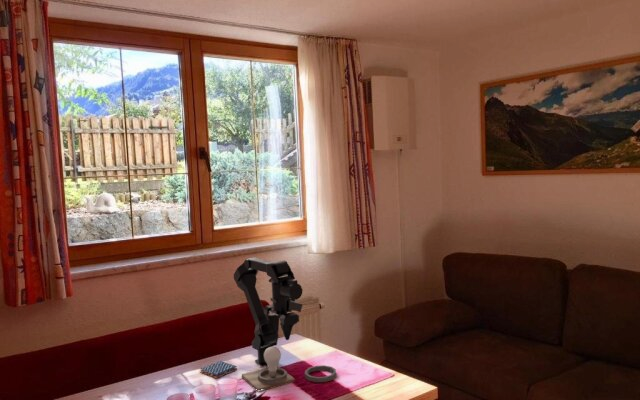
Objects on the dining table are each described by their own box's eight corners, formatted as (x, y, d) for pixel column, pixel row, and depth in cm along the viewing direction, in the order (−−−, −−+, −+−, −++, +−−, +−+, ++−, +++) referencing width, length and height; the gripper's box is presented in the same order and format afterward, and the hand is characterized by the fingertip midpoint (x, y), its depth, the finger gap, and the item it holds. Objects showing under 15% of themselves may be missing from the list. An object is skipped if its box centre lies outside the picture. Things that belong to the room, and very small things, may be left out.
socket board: (241, 377, 181) (241, 370, 181) (276, 368, 188) (276, 361, 188) (258, 391, 168) (257, 384, 168) (294, 381, 175) (294, 374, 175)
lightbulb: (284, 377, 177) (284, 347, 176) (270, 382, 173) (269, 350, 173) (275, 373, 181) (274, 343, 181) (260, 377, 178) (260, 346, 177)
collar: (299, 374, 182) (299, 370, 181) (325, 367, 187) (325, 363, 187) (314, 384, 172) (314, 380, 172) (341, 377, 178) (341, 372, 177)
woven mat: (221, 364, 196) (220, 359, 196) (238, 370, 189) (238, 365, 189) (198, 373, 188) (198, 368, 188) (216, 380, 181) (215, 374, 181)
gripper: (311, 296, 180) (313, 338, 181) (288, 287, 196) (289, 326, 197) (283, 301, 174) (285, 345, 175) (262, 291, 190) (264, 331, 191)
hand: (281, 336), depth 185 cm, fingers open, 9 cm apart
